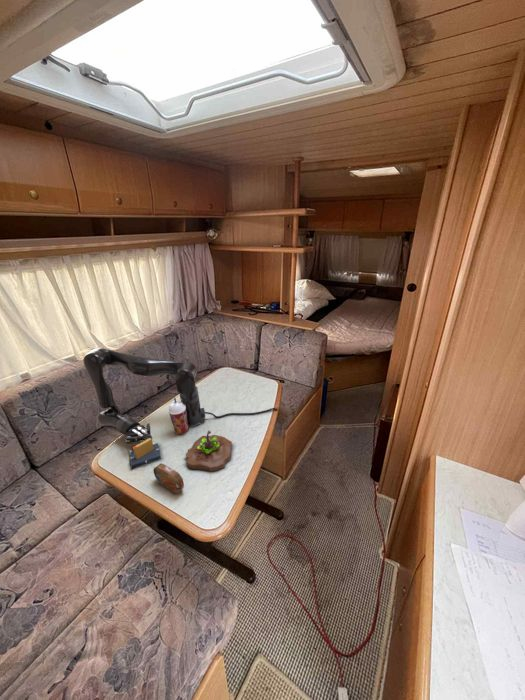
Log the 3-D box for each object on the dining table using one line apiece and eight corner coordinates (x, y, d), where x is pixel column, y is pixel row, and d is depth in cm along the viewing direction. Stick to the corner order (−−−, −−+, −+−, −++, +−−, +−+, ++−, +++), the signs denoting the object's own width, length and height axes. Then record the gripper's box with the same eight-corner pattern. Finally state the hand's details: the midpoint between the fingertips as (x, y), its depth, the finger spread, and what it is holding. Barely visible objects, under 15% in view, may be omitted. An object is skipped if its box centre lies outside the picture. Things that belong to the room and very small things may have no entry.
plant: (237, 441, 131) (236, 422, 126) (224, 474, 113) (221, 453, 109) (198, 436, 135) (196, 417, 130) (180, 467, 117) (176, 447, 113)
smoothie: (193, 426, 141) (187, 394, 133) (184, 437, 134) (176, 404, 126) (179, 423, 144) (172, 392, 136) (169, 434, 137) (161, 401, 129)
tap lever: (152, 447, 126) (149, 437, 123) (154, 449, 125) (151, 438, 122) (135, 457, 120) (132, 447, 118) (137, 459, 119) (134, 448, 117)
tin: (154, 480, 112) (150, 464, 108) (161, 474, 114) (157, 459, 111) (180, 496, 104) (177, 480, 101) (186, 490, 107) (183, 474, 103)
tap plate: (158, 444, 131) (157, 440, 130) (161, 461, 121) (160, 457, 120) (130, 452, 126) (129, 449, 125) (132, 471, 116) (130, 468, 115)
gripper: (112, 428, 126) (135, 442, 117) (138, 413, 136) (161, 424, 127) (116, 441, 129) (139, 455, 120) (141, 425, 139) (163, 437, 130)
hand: (150, 439), depth 124 cm, fingers closed
